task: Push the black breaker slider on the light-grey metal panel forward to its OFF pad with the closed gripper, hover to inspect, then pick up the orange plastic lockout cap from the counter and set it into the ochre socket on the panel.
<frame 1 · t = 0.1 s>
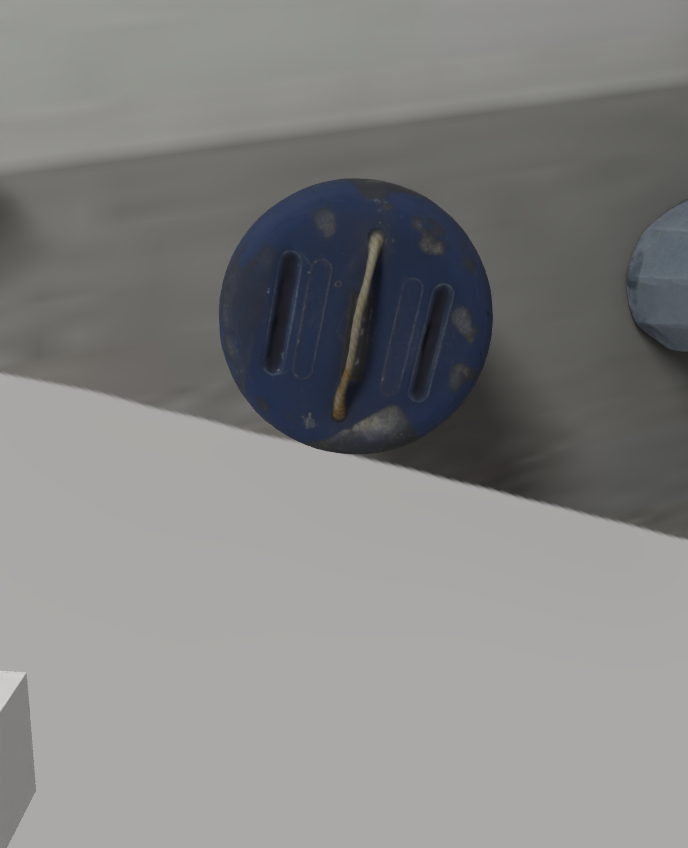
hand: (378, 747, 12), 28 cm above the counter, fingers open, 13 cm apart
canister: (345, 280, 37), on the counter
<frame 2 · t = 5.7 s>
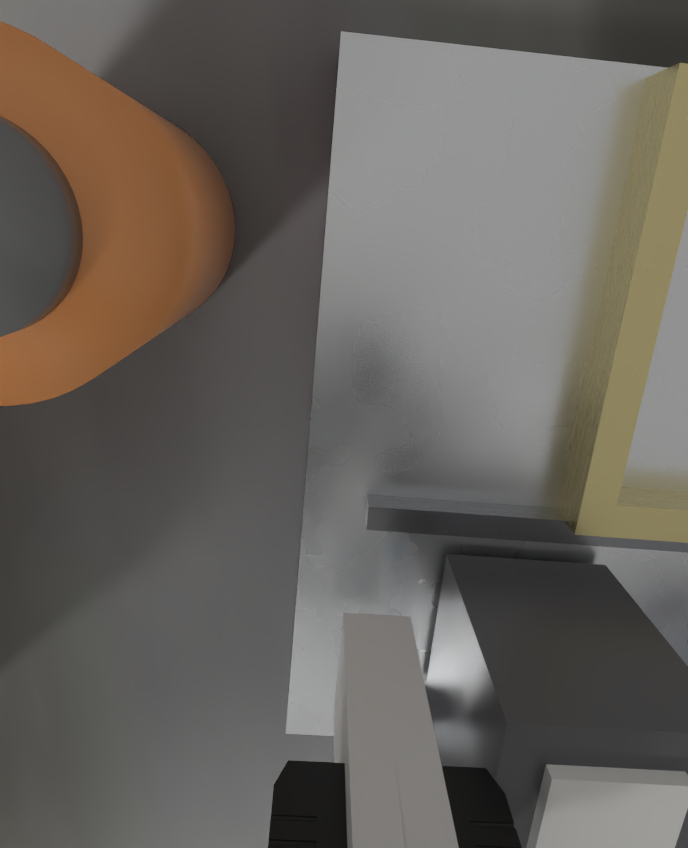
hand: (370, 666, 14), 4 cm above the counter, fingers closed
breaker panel: (613, 447, 17), on the counter
lockout cap: (131, 223, 15), on the counter
breaker slider: (550, 712, 14), point 5 cm above the counter, slide at 1.6 cm, touching gripper
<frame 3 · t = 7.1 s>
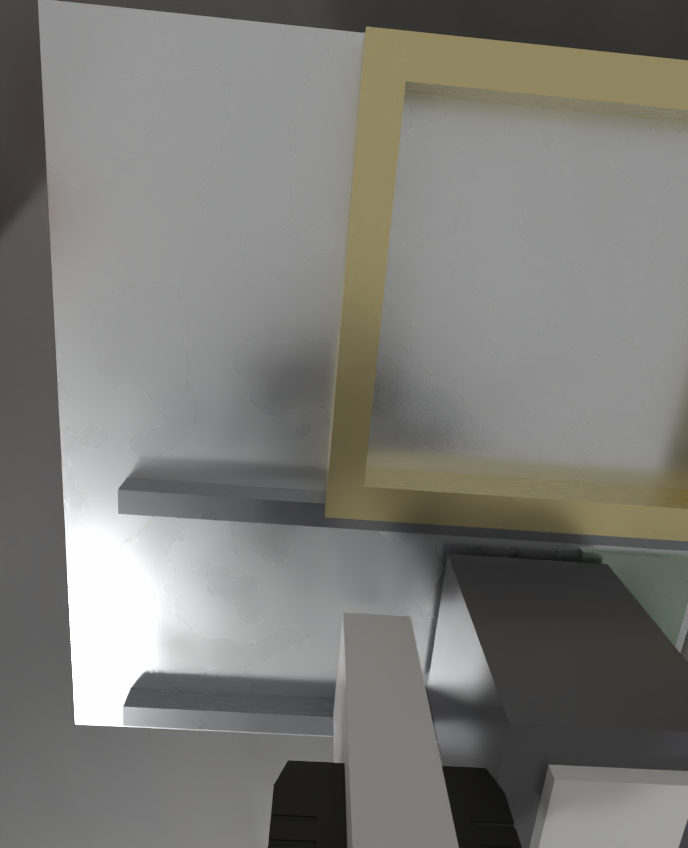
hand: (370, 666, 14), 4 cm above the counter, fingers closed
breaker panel: (398, 429, 16), on the counter
breaker slider: (552, 711, 13), point 5 cm above the counter, slide at 7.3 cm, touching gripper
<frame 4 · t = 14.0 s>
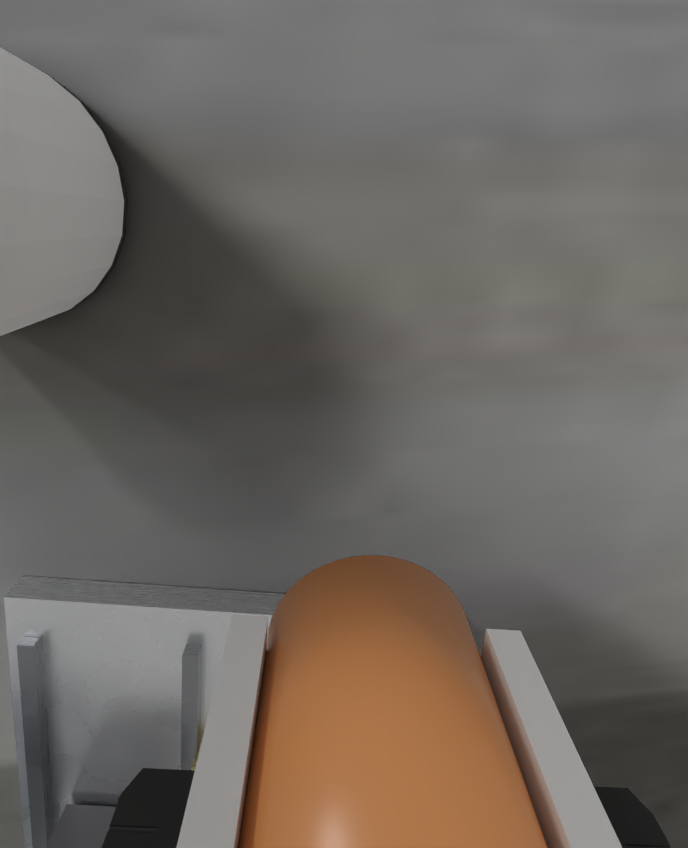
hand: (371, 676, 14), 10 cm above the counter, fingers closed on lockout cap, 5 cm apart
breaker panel: (234, 752, 27), on the counter
lockout cap: (368, 645, 15), point 9 cm above the counter, touching gripper
when the fingers open (3 cm above the counter, at t = 17.2 s): lockout cap stays where it is, resting on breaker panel.
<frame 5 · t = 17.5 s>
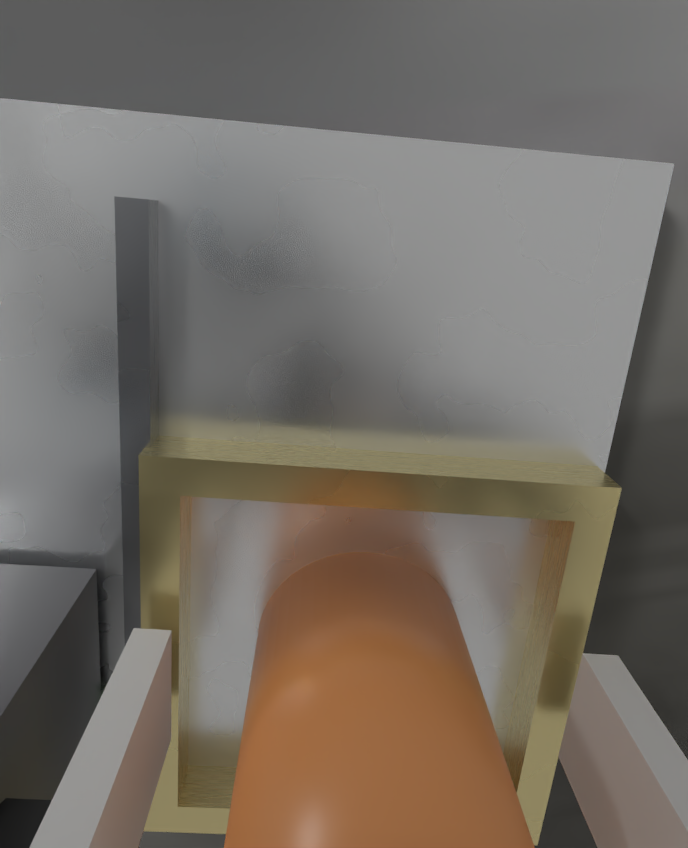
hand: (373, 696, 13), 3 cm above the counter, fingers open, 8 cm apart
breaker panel: (224, 489, 15), on the counter
lockout cap: (358, 641, 15), point 1 cm above the counter, touching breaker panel
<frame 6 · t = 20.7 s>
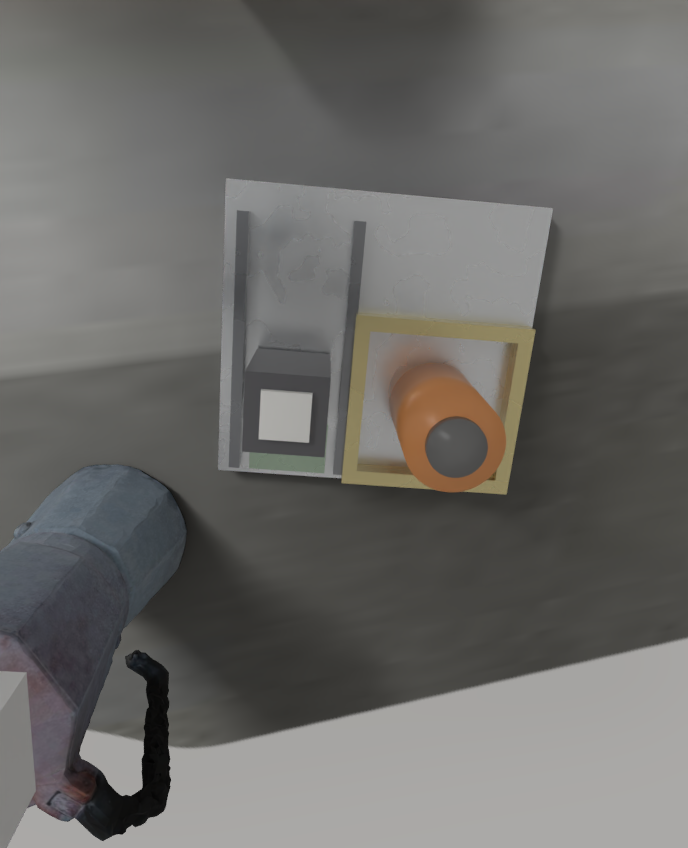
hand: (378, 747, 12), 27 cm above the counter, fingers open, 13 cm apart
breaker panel: (374, 341, 37), on the counter
lockout cap: (431, 403, 36), point 1 cm above the counter, touching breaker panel
breaker slider: (288, 400, 33), point 5 cm above the counter, slide at 6.6 cm
moka pot: (124, 526, 40), on the counter
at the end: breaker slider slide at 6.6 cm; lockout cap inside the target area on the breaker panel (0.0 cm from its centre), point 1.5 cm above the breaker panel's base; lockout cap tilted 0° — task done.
